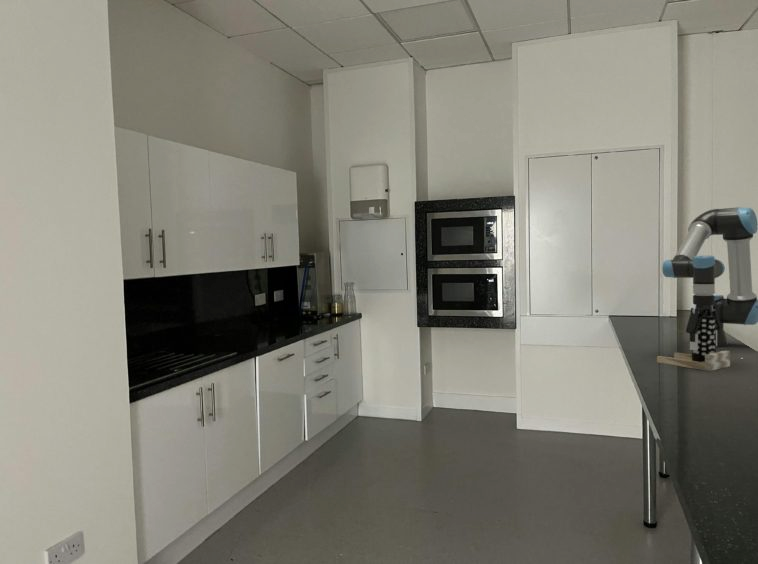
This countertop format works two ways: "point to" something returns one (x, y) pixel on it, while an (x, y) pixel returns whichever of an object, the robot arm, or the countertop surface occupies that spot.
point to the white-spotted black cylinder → (705, 338)
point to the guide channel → (711, 362)
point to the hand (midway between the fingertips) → (703, 348)
